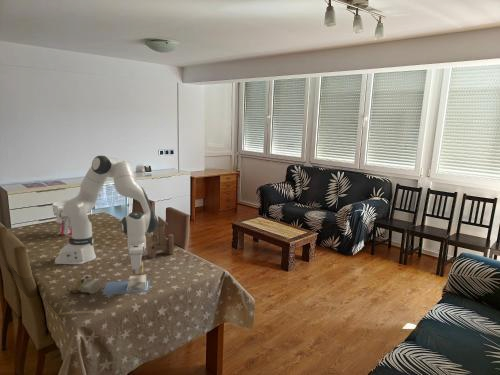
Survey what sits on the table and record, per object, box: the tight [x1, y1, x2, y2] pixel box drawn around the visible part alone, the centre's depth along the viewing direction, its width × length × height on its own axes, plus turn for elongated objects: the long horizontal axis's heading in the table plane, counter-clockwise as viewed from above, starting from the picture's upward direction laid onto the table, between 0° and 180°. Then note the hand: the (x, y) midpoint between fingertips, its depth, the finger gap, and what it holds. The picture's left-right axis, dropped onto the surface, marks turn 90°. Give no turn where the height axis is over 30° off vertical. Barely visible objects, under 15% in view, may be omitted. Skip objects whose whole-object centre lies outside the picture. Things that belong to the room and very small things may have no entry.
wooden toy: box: [146, 215, 174, 259], centre depth 227 cm, size 16×7×25 cm, turn 122°
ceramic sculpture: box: [66, 275, 101, 295], centre depth 177 cm, size 11×9×15 cm
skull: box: [52, 199, 72, 237], centre depth 259 cm, size 25×19×23 cm
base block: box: [128, 274, 147, 290], centre depth 183 cm, size 8×8×4 cm
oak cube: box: [131, 261, 144, 276], centre depth 181 cm, size 5×5×5 cm
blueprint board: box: [101, 279, 151, 296], centre depth 182 cm, size 22×14×1 cm, turn 103°
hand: (137, 270), depth 182 cm, fingers closed on oak cube, 5 cm apart
